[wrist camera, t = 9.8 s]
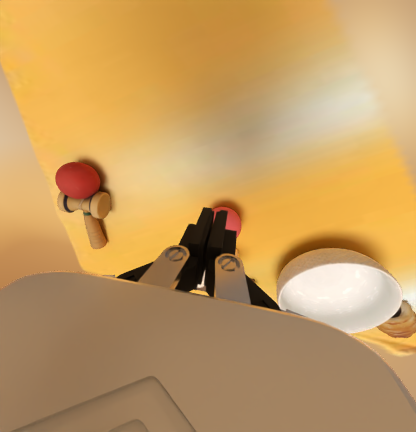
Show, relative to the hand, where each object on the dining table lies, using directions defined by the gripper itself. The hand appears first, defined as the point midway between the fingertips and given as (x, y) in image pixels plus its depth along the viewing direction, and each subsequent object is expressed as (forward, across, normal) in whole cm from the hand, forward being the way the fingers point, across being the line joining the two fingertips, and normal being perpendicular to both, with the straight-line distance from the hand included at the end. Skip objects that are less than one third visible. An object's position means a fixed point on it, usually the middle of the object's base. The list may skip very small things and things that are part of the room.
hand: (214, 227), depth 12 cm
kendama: (+18, +25, +10) cm, 32 cm away
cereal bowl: (+17, -19, +18) cm, 31 cm away
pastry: (+18, -36, +26) cm, 47 cm away
